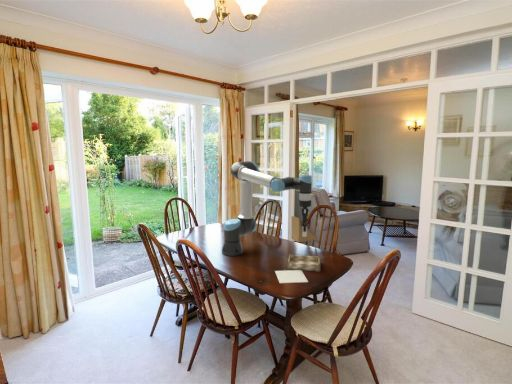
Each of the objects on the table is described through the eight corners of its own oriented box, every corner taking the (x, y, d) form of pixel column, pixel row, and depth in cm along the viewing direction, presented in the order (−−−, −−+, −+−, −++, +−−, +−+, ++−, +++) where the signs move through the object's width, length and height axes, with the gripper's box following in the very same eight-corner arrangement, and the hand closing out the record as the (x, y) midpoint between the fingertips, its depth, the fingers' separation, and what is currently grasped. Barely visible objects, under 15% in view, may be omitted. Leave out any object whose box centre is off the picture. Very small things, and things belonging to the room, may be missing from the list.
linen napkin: (279, 284, 161) (279, 282, 161) (275, 272, 177) (275, 270, 177) (308, 283, 163) (308, 281, 163) (300, 271, 179) (300, 269, 178)
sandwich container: (319, 239, 185) (319, 215, 183) (298, 242, 178) (299, 218, 176) (311, 235, 192) (311, 213, 190) (291, 238, 186) (291, 215, 184)
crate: (287, 269, 181) (287, 261, 180) (289, 260, 195) (289, 253, 194) (320, 271, 177) (320, 264, 176) (319, 262, 192) (319, 255, 191)
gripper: (311, 203, 169) (310, 239, 172) (311, 197, 193) (310, 228, 196) (298, 203, 170) (297, 238, 173) (299, 196, 194) (299, 228, 197)
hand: (304, 233), depth 184 cm, fingers closed on sandwich container, 12 cm apart
